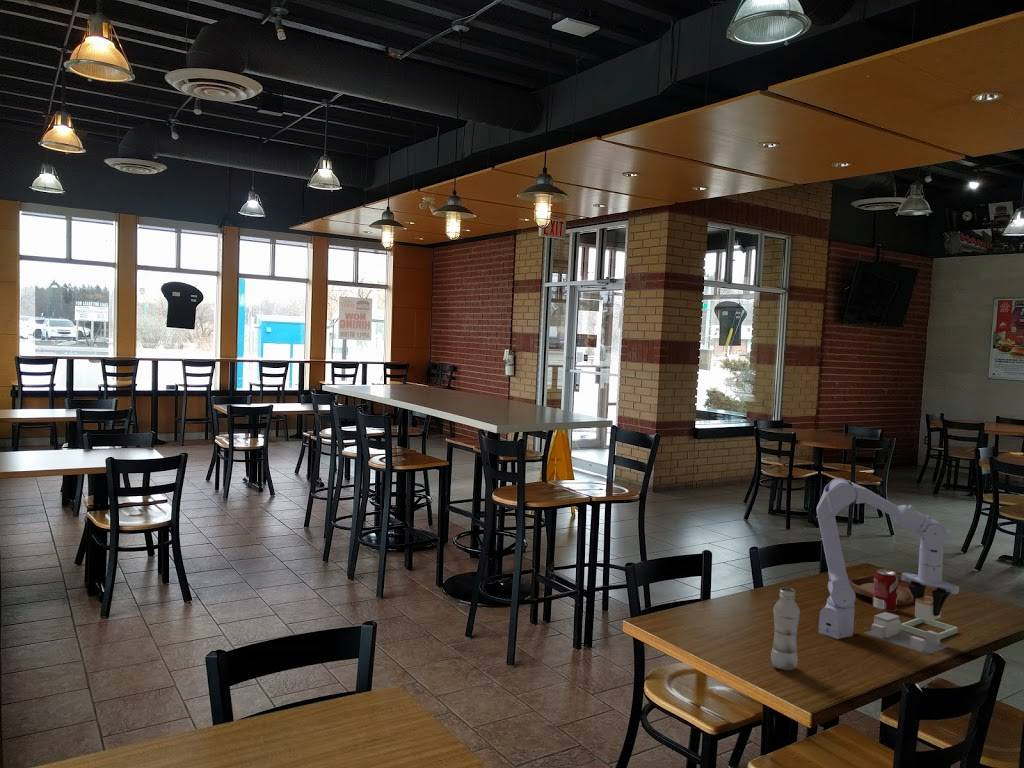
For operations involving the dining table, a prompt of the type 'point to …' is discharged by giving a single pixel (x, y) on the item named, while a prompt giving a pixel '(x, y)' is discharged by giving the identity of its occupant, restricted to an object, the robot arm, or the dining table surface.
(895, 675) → the dining table surface
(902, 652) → the dining table surface
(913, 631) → the tray
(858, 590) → the basket
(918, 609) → the block
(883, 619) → the block
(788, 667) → the plastic bottle
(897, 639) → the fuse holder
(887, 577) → the soda can
